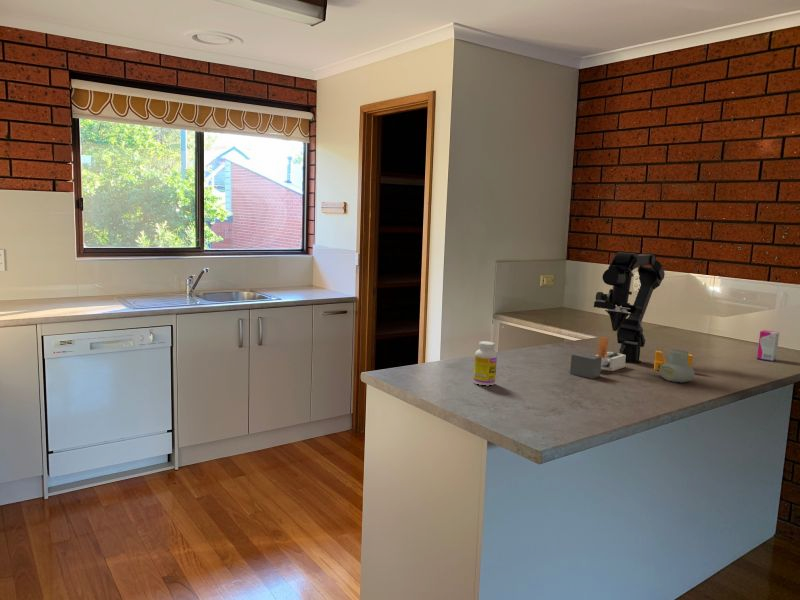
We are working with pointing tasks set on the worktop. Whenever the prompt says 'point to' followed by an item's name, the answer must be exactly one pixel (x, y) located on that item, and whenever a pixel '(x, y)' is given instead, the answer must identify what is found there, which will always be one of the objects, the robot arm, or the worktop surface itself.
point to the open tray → (615, 362)
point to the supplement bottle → (485, 364)
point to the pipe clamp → (660, 361)
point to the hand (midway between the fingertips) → (614, 330)
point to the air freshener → (677, 367)
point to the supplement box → (768, 345)
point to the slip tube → (605, 352)
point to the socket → (585, 365)
